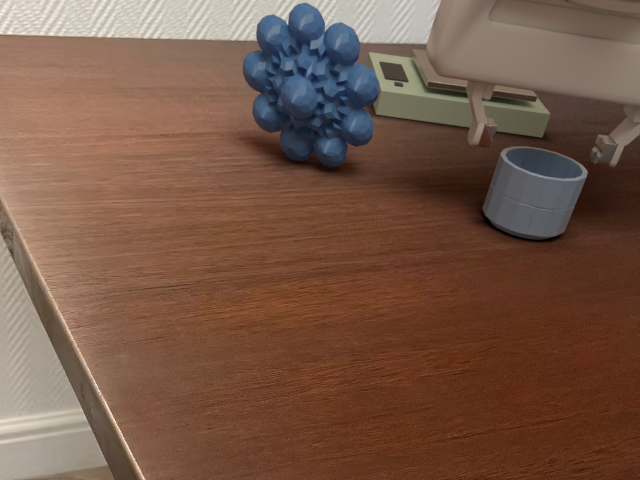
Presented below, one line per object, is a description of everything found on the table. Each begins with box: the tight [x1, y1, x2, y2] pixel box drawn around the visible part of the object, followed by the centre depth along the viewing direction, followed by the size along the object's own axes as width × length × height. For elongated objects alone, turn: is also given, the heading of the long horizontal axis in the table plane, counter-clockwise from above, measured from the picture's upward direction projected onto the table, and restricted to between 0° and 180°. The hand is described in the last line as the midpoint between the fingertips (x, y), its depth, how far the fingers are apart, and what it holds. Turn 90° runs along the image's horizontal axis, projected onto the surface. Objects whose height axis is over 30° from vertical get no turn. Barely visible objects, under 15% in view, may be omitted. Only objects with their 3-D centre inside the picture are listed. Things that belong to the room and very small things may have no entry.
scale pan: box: [410, 48, 538, 102], centre depth 84 cm, size 11×12×1 cm
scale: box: [365, 51, 551, 138], centre depth 86 cm, size 17×14×3 cm
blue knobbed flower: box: [242, 2, 380, 168], centre depth 64 cm, size 12×7×12 cm, turn 67°
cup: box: [481, 145, 589, 240], centre depth 62 cm, size 6×6×5 cm
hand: (539, 153), depth 60 cm, fingers open, 8 cm apart
